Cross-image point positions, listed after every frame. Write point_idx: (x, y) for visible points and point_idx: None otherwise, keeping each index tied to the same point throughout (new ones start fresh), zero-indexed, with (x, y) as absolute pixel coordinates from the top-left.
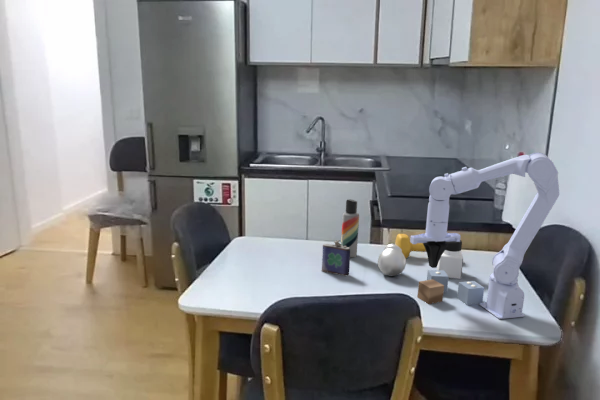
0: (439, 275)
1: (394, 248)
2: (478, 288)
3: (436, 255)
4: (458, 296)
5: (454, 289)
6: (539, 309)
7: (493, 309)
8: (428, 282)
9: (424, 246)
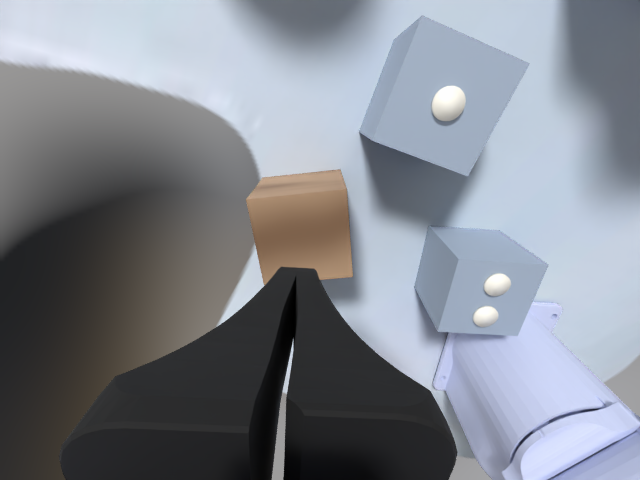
0: (427, 144)
1: None
2: (488, 332)
3: (276, 425)
4: (430, 238)
5: (491, 140)
6: (615, 363)
7: (455, 363)
8: (294, 224)
9: (165, 360)
